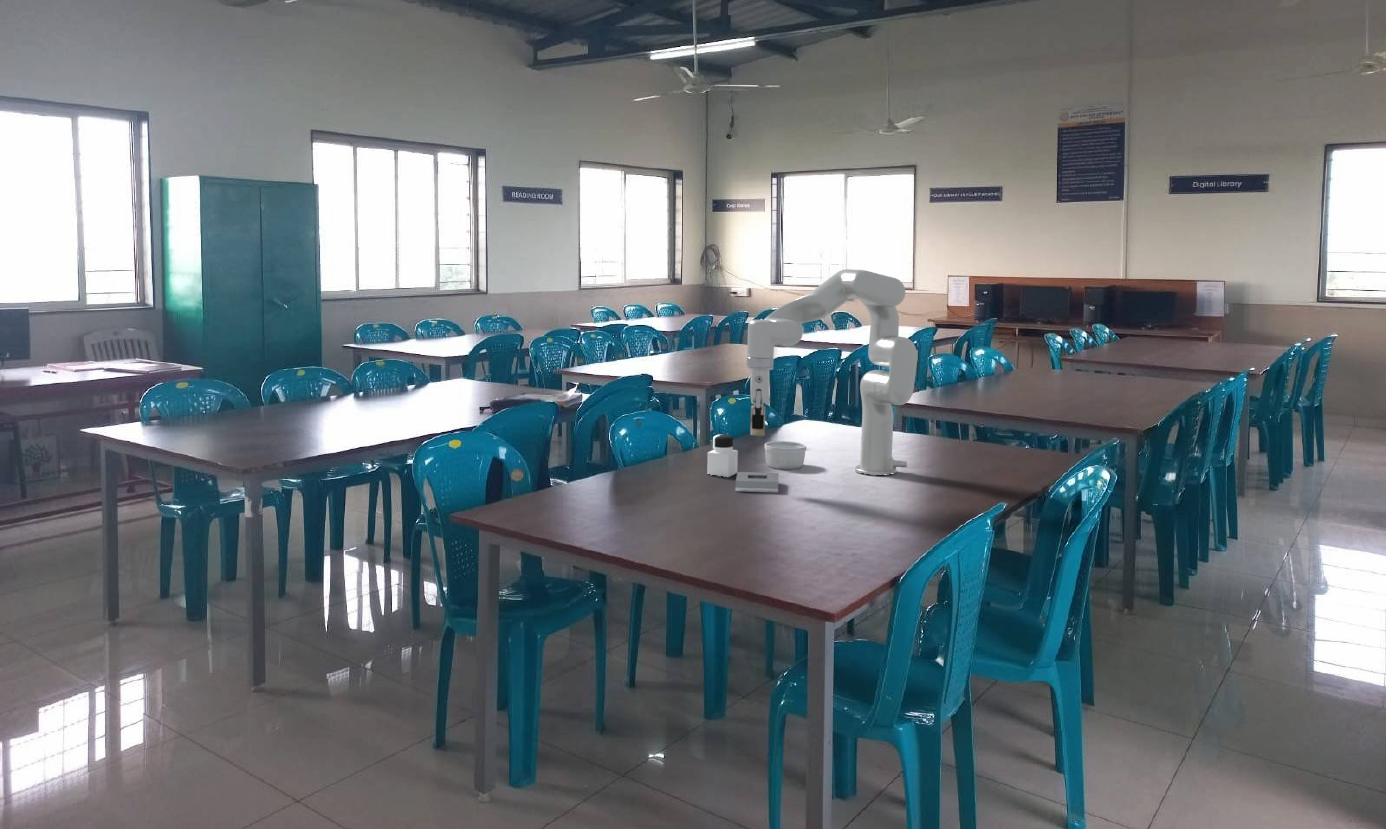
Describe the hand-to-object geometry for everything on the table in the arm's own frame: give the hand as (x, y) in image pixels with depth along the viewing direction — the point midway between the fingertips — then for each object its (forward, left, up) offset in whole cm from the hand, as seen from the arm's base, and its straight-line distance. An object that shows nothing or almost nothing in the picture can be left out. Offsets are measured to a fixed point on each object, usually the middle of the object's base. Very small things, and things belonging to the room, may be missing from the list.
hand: (757, 427), depth 294 cm
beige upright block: (0, 0, -2) cm, 2 cm away
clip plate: (0, 0, -18) cm, 18 cm away
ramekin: (-8, -31, -18) cm, 37 cm away
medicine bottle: (+11, -16, -18) cm, 26 cm away
